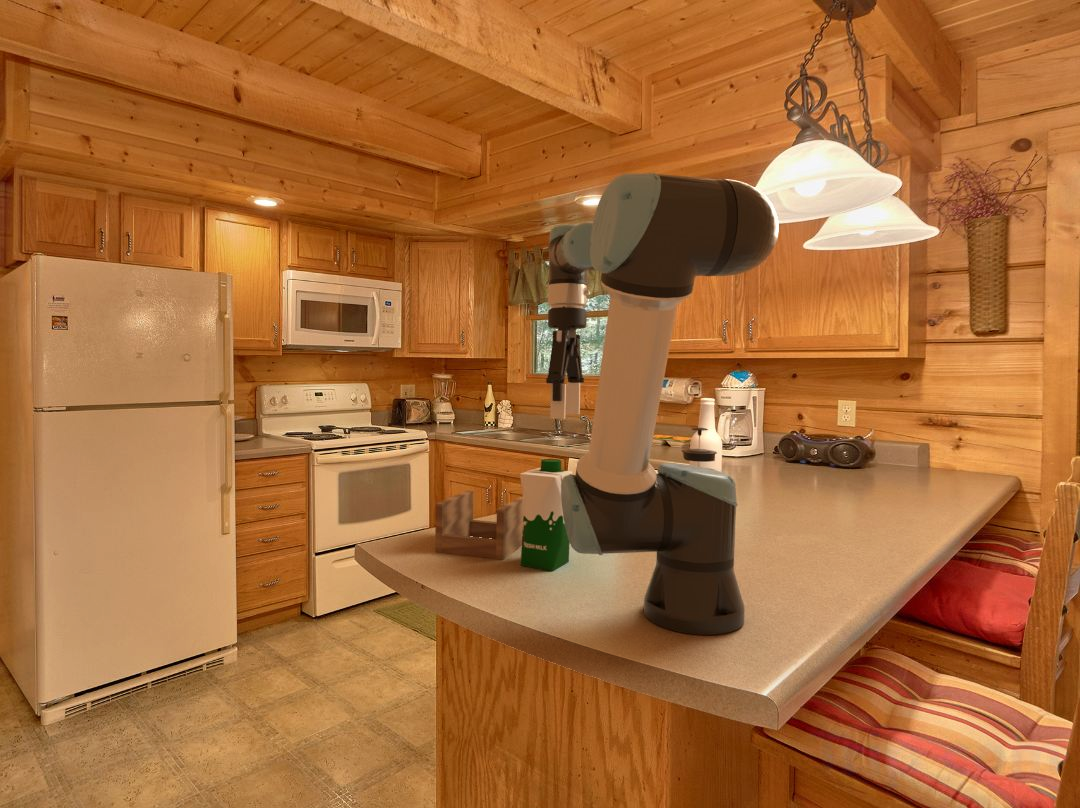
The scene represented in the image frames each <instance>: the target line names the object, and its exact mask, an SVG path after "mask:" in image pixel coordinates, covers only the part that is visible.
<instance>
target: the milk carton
mask: <svg viewBox="0 0 1080 808" xmlns="http://www.w3.org/2000/svg"><path fill="white" fill-rule="evenodd" d="M569 474H572V475H573V470H566V469H562V459H557V458H544V459H541V460H540V467H537V468H533V469H529V470H526V471H525V472H521V473H519V477H520V485H521V489H522V490H521V491H522V496H523V502H522V547H520V549H521V551H520V552H521V553H520V566H521V567H528V568H532V567H533V568H532V569H537V568H538V570H545V571H550V572H554V571H555V570H557V569H559V568H561V567H562V566H564V565H566V564H568V563H569V562H570V546H571V544H570V542H569V539H568V536H567V532H566V528H565V523H564V517H563V510H562V501H561V482H562V480H563V477H564V476H567V475H569Z"/></svg>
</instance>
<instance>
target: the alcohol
mask: <svg viewBox="0 0 1080 808" xmlns="http://www.w3.org/2000/svg"><path fill="white" fill-rule="evenodd" d="M699 400H700V402H699V405H700V407H699V418H698V423H697V425H698V426H697V428H706V429H708V430H702V434H701V436H700V449H706V450H711V451H716V452H717V454H715V461H710V462H699V467H702V468H709V469H714V470H716V471H720V472H722V468H723V442H722V438H721V436H720V435H719V434H718V432H717V429H716V419H715V418H716V416H715V415H716V414H715V405H716V403H715V401H716V400H715V398H710V397H704V398H703V397H702V398H700V399H699ZM689 449H699V435H698V430H696V432H694V434H693V435H692V437H691V439H690V443H689ZM689 465H690V466H697V467H698V461H689Z"/></svg>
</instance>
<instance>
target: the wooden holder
mask: <svg viewBox="0 0 1080 808" xmlns="http://www.w3.org/2000/svg"><path fill="white" fill-rule="evenodd" d="M522 502H523V495H522V496H519V497H518V498H516V499H514V500H512V501H510V502H508V503H506V504H504V505H502V506H499V507H498V508H496V521H490V520H489V521H488V520H479V519H478V520H477V519H474V491H473V490H465V491H463V492H461V493H459V494H455V495H453V496H451V497H449V498H446V499H443V500H440V501H438V502H435V531H434V532H435V537H434V538H435V539H434V540H435V548H434V549H435V550H434V551H435V553H443V554H452V555H459V556H460V555H461V556H469V557H476V558H477V557H478V558H484V557H485V558H486V559H494V560H503V561H504V560H505V559H506V558H508V557H509V556H511V555H512V554H514V553H515V552H516V551H517V550H519V549H520V548H522V547H521V546H522ZM470 536H473V537H470ZM479 537H482V538H479ZM489 538H492V539H489ZM519 547H520V548H519ZM518 548H519V549H518ZM515 550H516V551H515ZM514 551H515V552H514ZM511 553H512V554H511ZM507 556H508V557H507ZM485 558H484V559H485Z"/></svg>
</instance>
